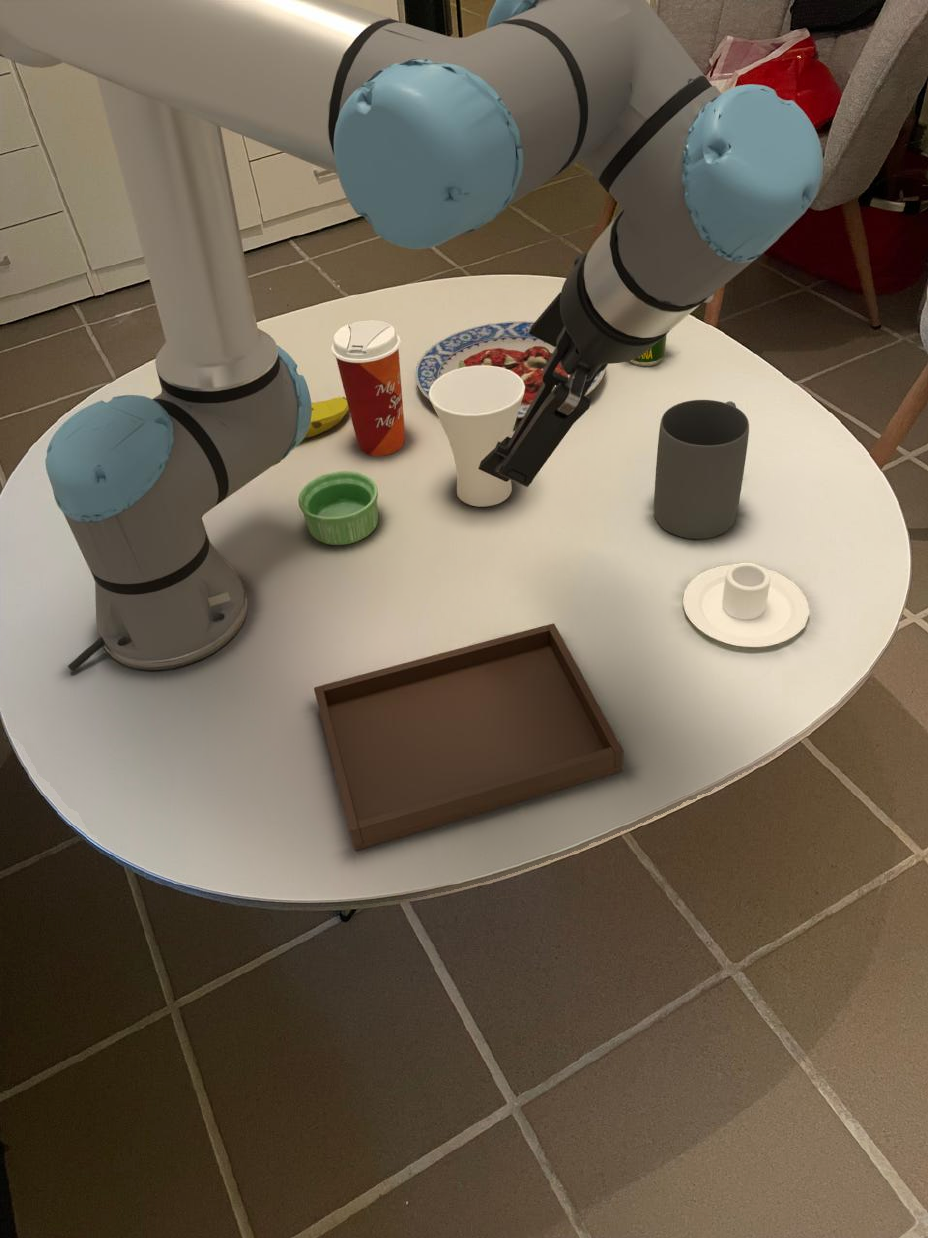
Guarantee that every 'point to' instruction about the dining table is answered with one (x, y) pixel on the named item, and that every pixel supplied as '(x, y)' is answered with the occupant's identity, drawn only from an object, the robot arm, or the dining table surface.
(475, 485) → the cup
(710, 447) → the mug
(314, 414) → the banana
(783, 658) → the dining table surface
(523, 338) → the ceramic plate
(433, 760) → the tray
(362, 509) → the ramekin
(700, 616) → the candle holder
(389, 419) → the coffee cup
